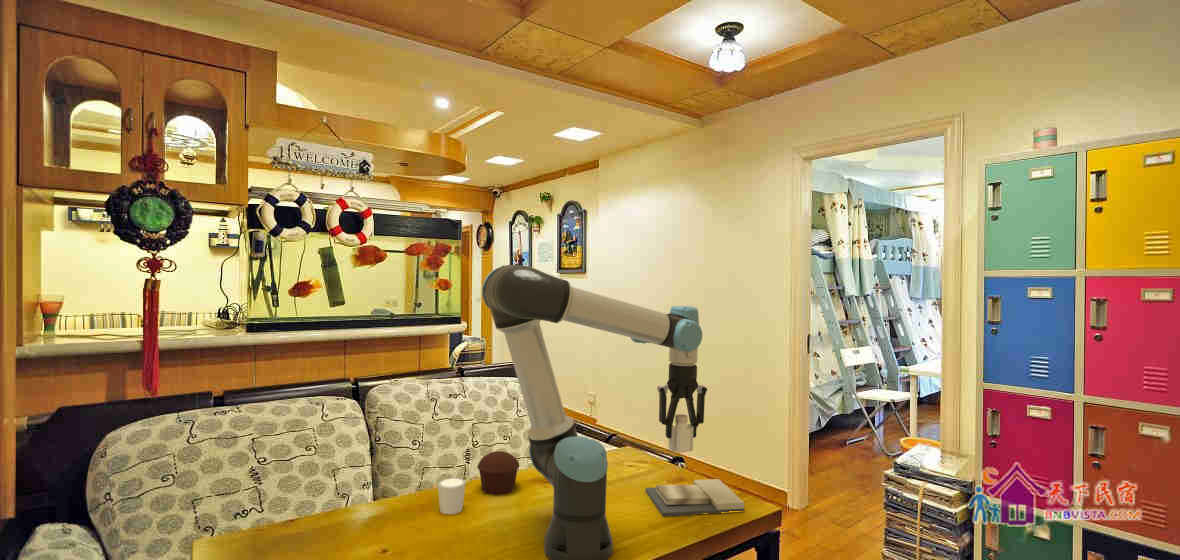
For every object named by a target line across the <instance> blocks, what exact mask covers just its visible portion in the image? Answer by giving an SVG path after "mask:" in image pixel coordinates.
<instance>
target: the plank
mask: <svg viewBox="0 0 1180 560" xmlns="http://www.w3.org/2000/svg"><path fill="white" fill-rule="evenodd" d="M655 488H656V492H657V493H658V494H659V496H660V497H661V498H662V500H663V501H664V502H665V504H666V505H681V504H710V498H709V497H708V496H707V495H706V494H705V493H704V491H703V490H702V489H701V488H700V487H699V486H698V485H694V484H656V485H655Z"/></svg>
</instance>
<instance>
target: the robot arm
mask: <svg viewBox="0 0 1180 560" xmlns="http://www.w3.org/2000/svg"><path fill="white" fill-rule="evenodd" d="M481 287H482V288H481V295H482V299H483V302H484V303H485V305H486V307H487V308H488V309H489V310H490V312H491V316H492V320H493V323H494V326H495V329H496V330H498V331H499V332H501V333H503V334H504V336H505V341H506V344H507V347H508V350H509V354H510V357H511V361H512V364H513V367H514V371H515V374H516V378H517V381H518V384H519V389H520V391H521V392H520V393H521V394H522V398H523V401H524V405H525V408H526V412H527V415H528V419H529V422H530V425H531V426H530V428H529V429H528V431H527V434H526V435H527V438H528V441H529V447H528V452H529V453H528V454H529V458H530V461H531V463H532V465H533V467H534V469H535V470H536V471H537V472H538V473H539V474H541V475H542V476H543V478H545V479H546V481H548V482H549V484H550V485H551V486H552V488H553V503H552V504H553V505H552V506H553V507H552V508H553V510H552V517H551V519H550V522H549V525H548V528H547V531H546V533H545V536H544V542H543V543H544V546H543V547H544V548H543V550H544V554H545V555H546V557H547V558H548V559H549V560H608V559H609V558H610V557H611V555H612V554H613V545H614V542H613V536H612V533H611V529H610V526H609V523H608V519H607V516H606V510H607V509H606V508H607V506H606V505H607V504H606V503H607V482H608V481H607V480H608V479H607V478H608V467H609V466H608V465H609V464H608V463H609V462H608V456H607V455H608V454H607V451H606V450H607V449H606V448H605V446H603V444H602V443H601V442H600V441H597V440H595V439H594V438H588V437H586V436H578V432H577V428H576V425H575V421H574V419H573V418H572V416H571V417H570V416H568V415H567V414H566V411H565V410H564V409H565V408H564V406H563V405H564V404H563V402H562V398H561V394H560V392H559V387H558V385H557V384H558V383H557V381H556V377H555V373H554V370H553V366H552V363H551V360H550V355H549V352H548V349H547V345H546V341H545V338H544V334H543V331H542V328H541V324H540V323H541V321H545V322H549V323H554V324H559V323H561V322H562V321H564V322H568V323H572V324H576V325H580V326H583V327H588V328H592V329H596V330H598V331H599V330H600V331H604V332H608V333H612V334H615V335H618V336H624V337H628V338H630V339H631V341H632V342H633V343H636V344H644V345H645V344H654V345H658V346H661V347H666V348H669V352H668V361H669V362H670V363H669V364H668V380H667V382H666V384H665V385H663V386H661V385H658V386H657V388H656V389H657V392H658V394H659V395H658V396H659V400H658V401H659V403H658V404H659V405H658V406H659V407H658V412H659V413H658V421H659V422H660V424H662V425H664V426H665V437H666V438H667V439H668V448H667V449H669V451H671V452H675V451H674V447H675V427H674V425H673V424H674V422H675V416H676V412H677V408H678V404H679V403H680V400H681V399H685V403H686V408H687V415H688V419H689V423H687V427H688V428H689V429H690V430H691V434H690V451H689V452H692V451H694V448H693V447H694V438H697V428H698V427H699V425H700V424H704V422H705V404H706V403H705V401H706V400H705V399H706V398H705V397H706V394H707V391H708V388H707V387H706V386H704V385H700V384H699V382H698V381H697V378H698V366H697V363H698V353H699V351H698V350H699V349H698V348H699V347H700V345H701V343H702V340H703V331H702V327H701V326H700V322H699V321H700V320H699V319H700V317H699V309H698V308H697V307H695V306H688V305H685V306H684V305H673V306H671V307H670V311H669V313H664V312H661V311H657V310H654V309H650V308H647V307H644V306H640V305H637V304H633V303H629V302H626V301H623V300H619V299H615V298H613V297H607V296H605V295H600V294H598V293H594V292H592V291H591V292H590V291H587V290H584V289H581V288H577V287H573V286H572V285H571V283H570V281H569V280H565V279H562V278H559V277H556V276H553V275H551V274H548V273H547V272H544V271H541V270H539V269H536V268H534V267H532V266H529V265H522V264H521V265H513V264H507V265H501V266H499V267H497V268H495V269H493V270H492V271H490V272H489V273H488V275H486V277H485V279H484V281H483V283H482V286H481ZM668 390H669V392H670V393H671V395H670V401H669V407H668V410H667V400H668V399H667V394H668ZM695 391H696V392H695ZM694 393H697V395H696V409H695V403H694V396H693V394H694Z"/></svg>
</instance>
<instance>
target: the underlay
mask: <svg viewBox="0 0 1180 560" xmlns="http://www.w3.org/2000/svg"><path fill="white" fill-rule="evenodd" d="M693 485H698V486H699V487H700V488H701V489H702V490H703V491H704V493H705V494H706V495H707V496H708V497H709V498H710V504H681V505H666V504H665V502H664V501H663V500H662V498H661V497H660V496H659V494H658V493H657V492H656V487H645V490H644V491H645V493H646V495H647V494H648V495H647V496H648V498H649V497H650V498H649V499H650V500H651V502H652V501H653V502H652V503H653V504H655V505H654V506H655V508H656V509H657V510H658V511H659V513H660V515H661V514H662V515H661V517H663V518H667V517H666V516H672V517H681V516H680V515H688V516H693V515H692V514H702V513H703V514H704V513H721V512H729V511H744V512H745V501H743V500H742V499H741V498H740V497H739V496H738V495H737V494H736V493H734V491H733V490H732V489H730V488H729V487H728V486H727V485H726V484H725V483H724V482H723V481H721V480H720V478H715V479H714V478H713V479H712V478H711V479H695V480H693Z"/></svg>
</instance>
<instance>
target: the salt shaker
mask: <svg viewBox="0 0 1180 560" xmlns="http://www.w3.org/2000/svg"><path fill="white" fill-rule="evenodd" d="M688 419H689V415H688V414H687V415H686V414H683V413H678V414H675V417H674V422H675V426H674V425H673V426H674V427H675V447H674V452H676V453H688V452H691V451H690V434H691V430H690V429H689V428H688V427H687V424H688Z"/></svg>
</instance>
